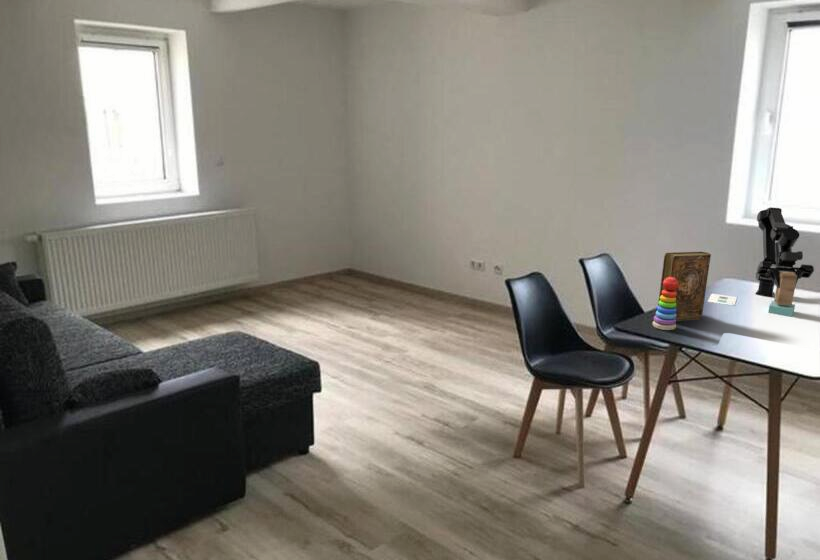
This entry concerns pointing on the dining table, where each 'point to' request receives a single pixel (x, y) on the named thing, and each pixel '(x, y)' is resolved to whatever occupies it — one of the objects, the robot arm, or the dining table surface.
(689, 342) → the dining table surface
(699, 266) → the book
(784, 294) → the column brick
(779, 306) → the base brick
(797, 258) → the robot arm
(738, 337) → the dining table surface
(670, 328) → the stacking toy
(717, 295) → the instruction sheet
